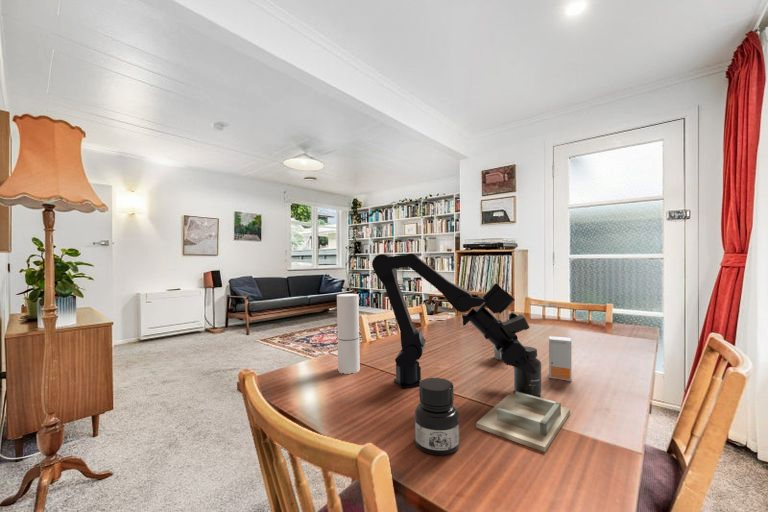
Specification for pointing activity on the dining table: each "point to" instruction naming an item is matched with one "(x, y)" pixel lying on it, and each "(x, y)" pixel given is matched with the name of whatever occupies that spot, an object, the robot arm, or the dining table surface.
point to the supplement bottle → (529, 375)
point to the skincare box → (560, 358)
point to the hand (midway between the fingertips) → (531, 367)
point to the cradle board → (525, 420)
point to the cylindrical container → (348, 333)
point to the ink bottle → (436, 417)
